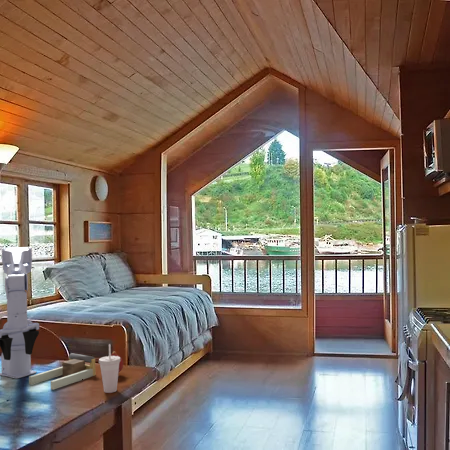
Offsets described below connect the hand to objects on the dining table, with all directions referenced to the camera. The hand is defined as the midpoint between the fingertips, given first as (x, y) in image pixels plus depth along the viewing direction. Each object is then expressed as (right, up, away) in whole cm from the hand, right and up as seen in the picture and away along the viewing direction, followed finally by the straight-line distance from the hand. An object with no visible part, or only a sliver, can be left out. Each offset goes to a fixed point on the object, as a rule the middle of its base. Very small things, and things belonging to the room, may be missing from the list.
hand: (18, 356), depth 162 cm
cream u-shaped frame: (+11, -9, +6) cm, 16 cm away
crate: (+14, -9, +11) cm, 20 cm away
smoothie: (+30, -9, -6) cm, 32 cm away
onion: (+28, -9, +10) cm, 31 cm away
